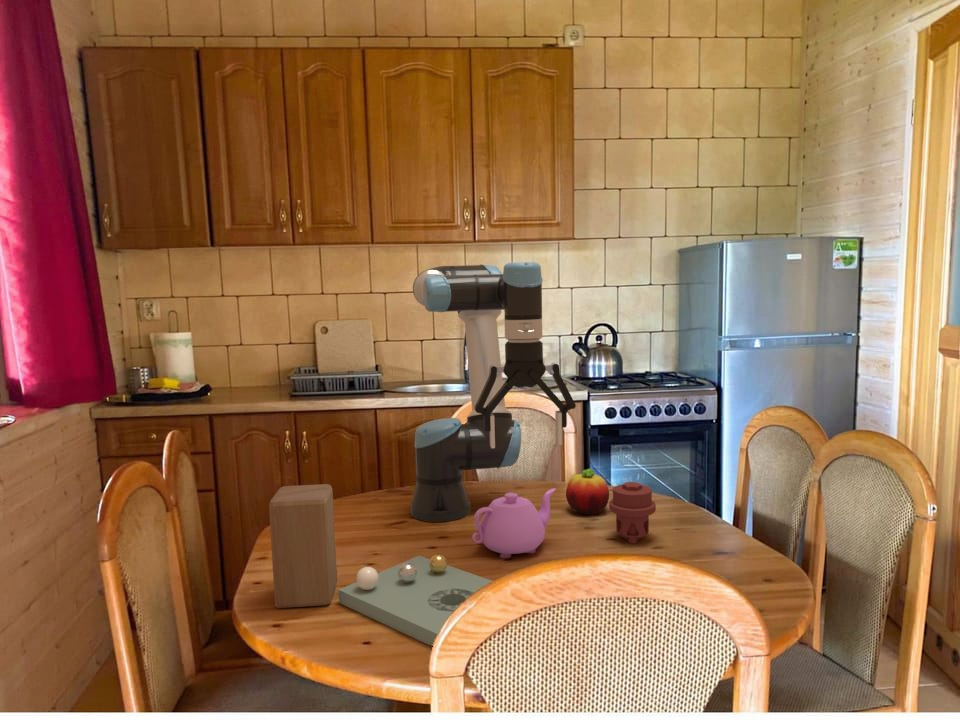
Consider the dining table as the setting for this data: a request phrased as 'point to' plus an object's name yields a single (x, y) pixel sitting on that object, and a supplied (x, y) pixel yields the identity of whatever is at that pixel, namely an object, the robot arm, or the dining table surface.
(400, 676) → the dining table surface
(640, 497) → the mechanical component
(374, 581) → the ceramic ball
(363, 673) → the dining table surface
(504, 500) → the teapot
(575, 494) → the fruit
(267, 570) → the dining table surface
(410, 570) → the steel ball
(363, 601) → the board
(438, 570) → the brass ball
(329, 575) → the wooden block
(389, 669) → the dining table surface
